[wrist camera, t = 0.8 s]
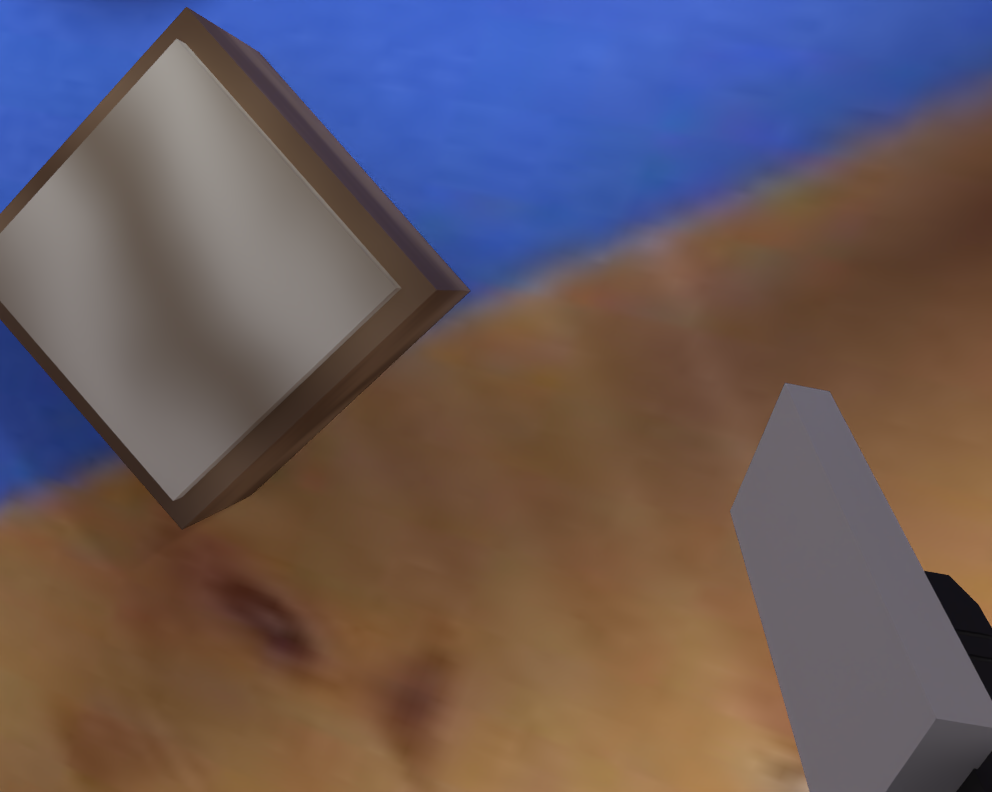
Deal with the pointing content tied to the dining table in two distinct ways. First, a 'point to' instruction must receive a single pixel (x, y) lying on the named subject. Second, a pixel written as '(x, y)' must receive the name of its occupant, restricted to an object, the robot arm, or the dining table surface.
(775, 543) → the robot arm
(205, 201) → the base
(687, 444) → the dining table surface
